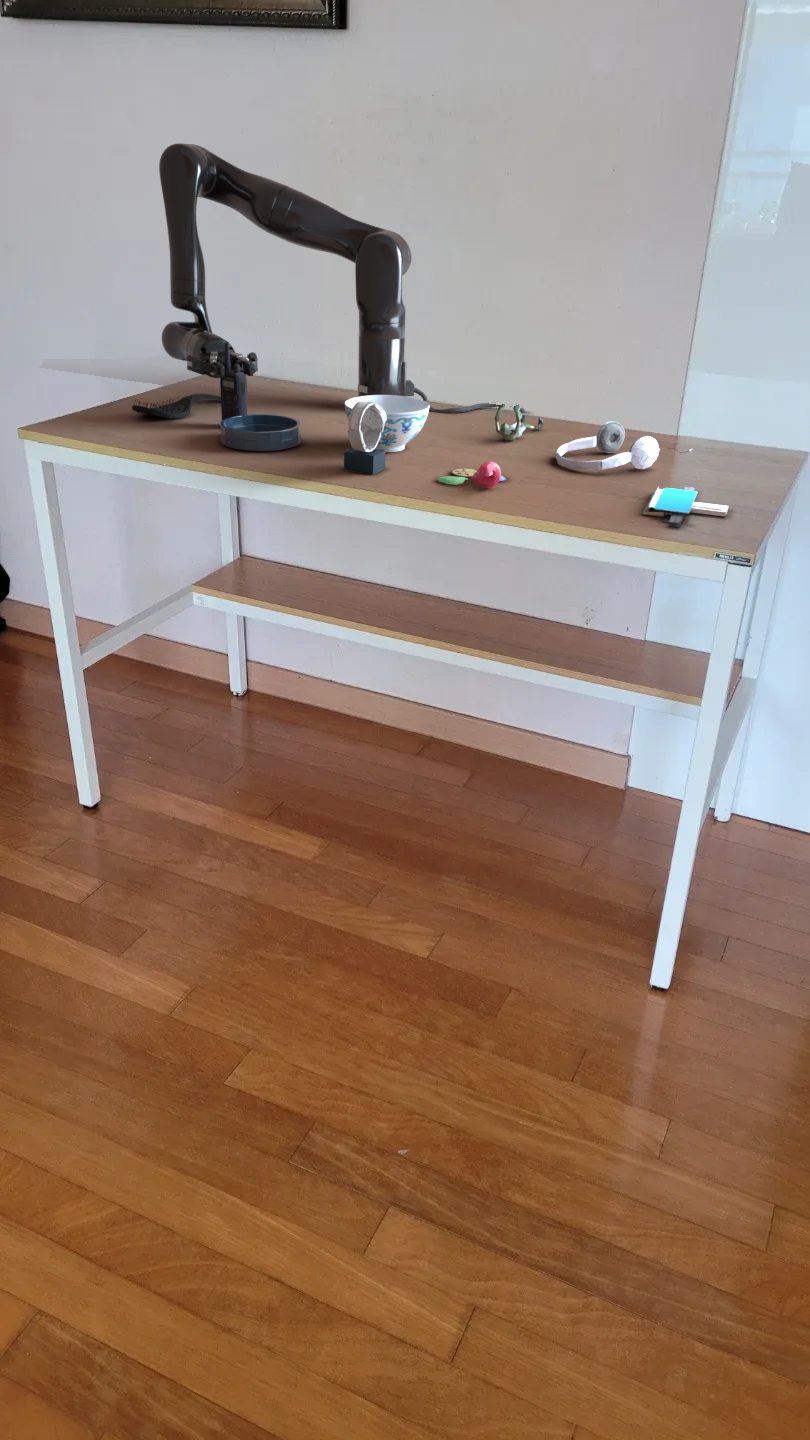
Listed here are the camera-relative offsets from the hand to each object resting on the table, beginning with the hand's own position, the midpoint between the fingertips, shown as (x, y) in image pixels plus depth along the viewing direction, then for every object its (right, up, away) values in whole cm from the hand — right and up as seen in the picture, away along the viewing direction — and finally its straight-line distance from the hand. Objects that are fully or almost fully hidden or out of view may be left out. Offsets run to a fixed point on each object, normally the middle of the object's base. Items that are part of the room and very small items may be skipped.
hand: (237, 371), depth 196 cm
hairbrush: (-14, -3, +17) cm, 22 cm away
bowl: (+5, -14, -4) cm, 15 cm away
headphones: (+67, -20, -9) cm, 71 cm away
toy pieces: (+42, -25, -21) cm, 53 cm away
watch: (+24, -22, -17) cm, 37 cm away
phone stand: (+74, -32, -32) cm, 87 cm away
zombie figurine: (+52, -10, +7) cm, 53 cm away
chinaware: (+27, -15, -4) cm, 32 cm away
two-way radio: (-1, -8, +6) cm, 11 cm away
